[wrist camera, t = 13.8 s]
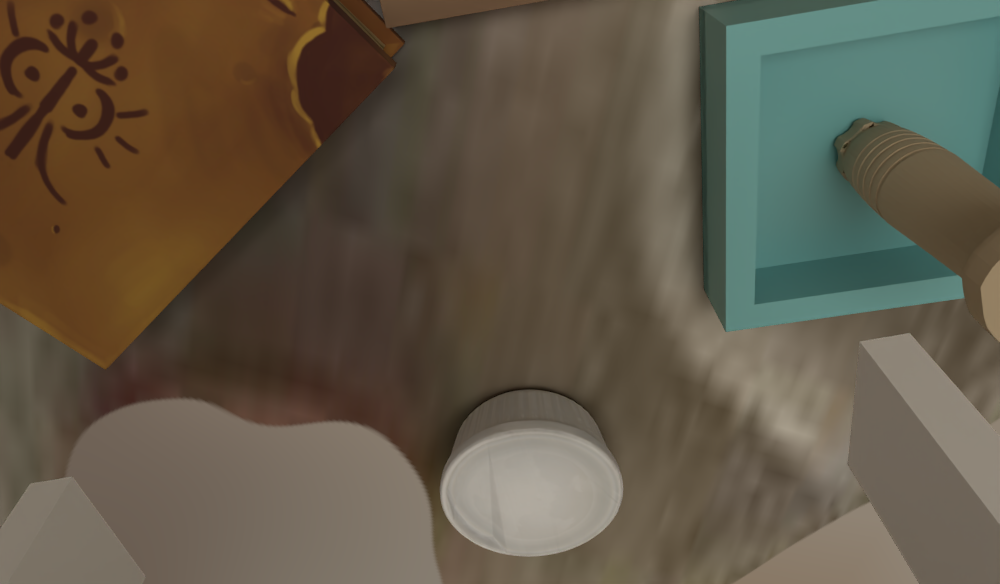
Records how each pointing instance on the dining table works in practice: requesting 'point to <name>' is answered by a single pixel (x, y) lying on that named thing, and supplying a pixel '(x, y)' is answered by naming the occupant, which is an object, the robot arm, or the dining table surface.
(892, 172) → the handle
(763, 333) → the dining table surface
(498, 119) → the dining table surface
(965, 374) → the dining table surface
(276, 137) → the diary
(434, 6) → the socket
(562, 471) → the ramekin
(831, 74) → the parts tray
